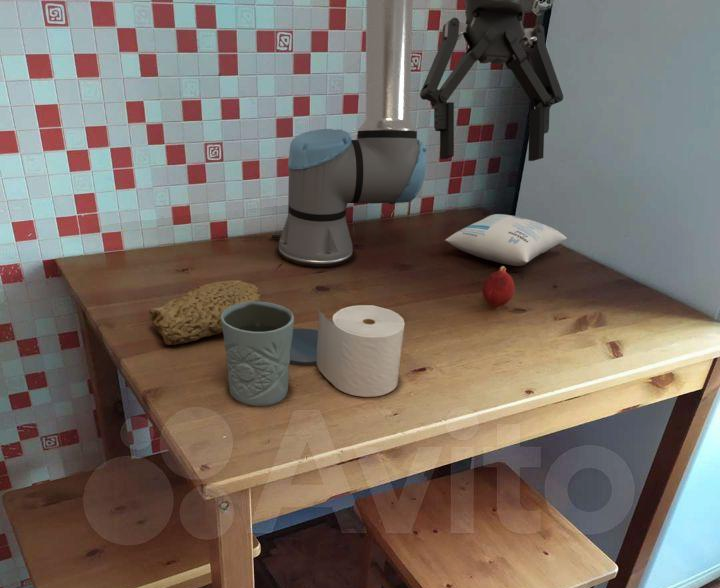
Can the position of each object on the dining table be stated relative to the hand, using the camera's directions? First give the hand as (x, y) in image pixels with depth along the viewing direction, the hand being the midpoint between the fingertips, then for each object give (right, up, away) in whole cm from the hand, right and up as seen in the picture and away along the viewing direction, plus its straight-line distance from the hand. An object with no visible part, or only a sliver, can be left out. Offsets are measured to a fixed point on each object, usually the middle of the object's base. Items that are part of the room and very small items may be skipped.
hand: (492, 159), depth 103 cm
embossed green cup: (-33, -31, +9) cm, 46 cm away
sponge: (-43, -18, +24) cm, 53 cm away
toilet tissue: (-18, -29, +13) cm, 36 cm away
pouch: (+13, +4, +60) cm, 62 cm away
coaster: (-27, -22, +20) cm, 41 cm away
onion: (+7, -12, +39) cm, 41 cm away
